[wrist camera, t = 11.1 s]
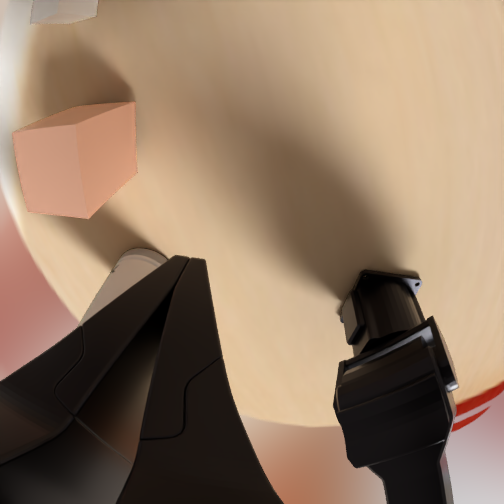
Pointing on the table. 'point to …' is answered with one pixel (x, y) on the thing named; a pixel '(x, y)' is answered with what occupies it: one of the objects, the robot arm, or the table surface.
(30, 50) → the table surface
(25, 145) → the pink foam cube
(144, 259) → the travel mug
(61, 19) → the white block
